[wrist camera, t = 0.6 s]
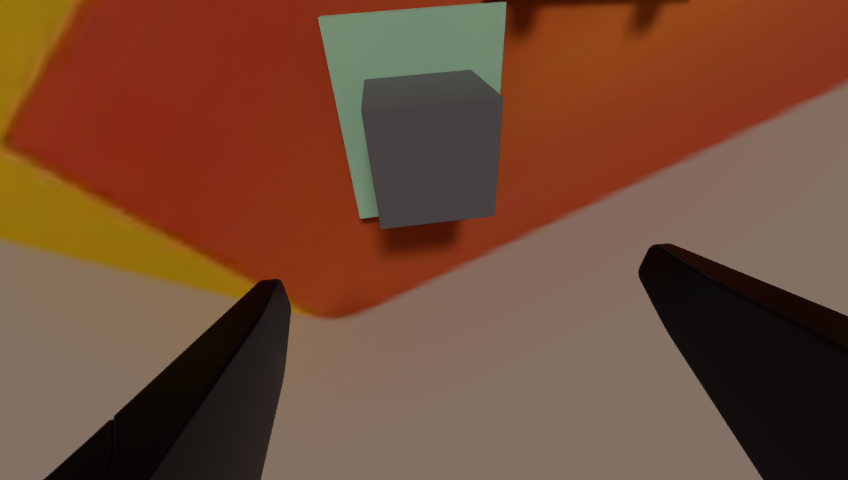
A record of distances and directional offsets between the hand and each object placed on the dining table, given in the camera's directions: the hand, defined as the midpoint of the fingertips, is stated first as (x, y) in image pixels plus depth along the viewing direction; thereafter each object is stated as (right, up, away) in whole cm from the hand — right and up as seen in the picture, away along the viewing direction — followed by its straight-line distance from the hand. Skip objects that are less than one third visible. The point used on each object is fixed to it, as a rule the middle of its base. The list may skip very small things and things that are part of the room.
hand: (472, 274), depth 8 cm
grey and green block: (-1, +7, +10) cm, 12 cm away
